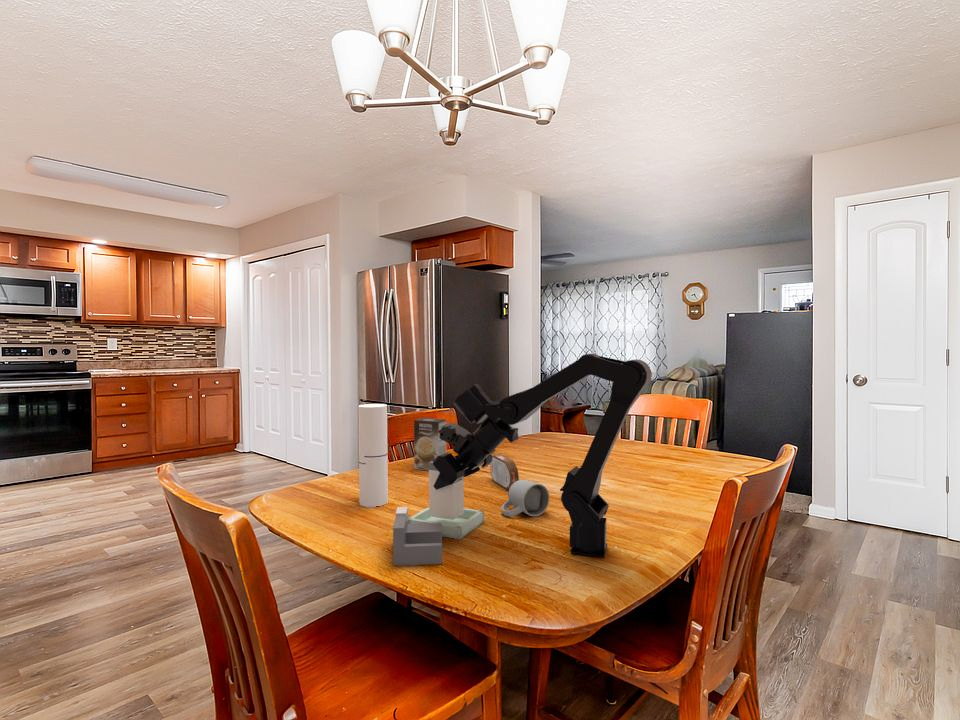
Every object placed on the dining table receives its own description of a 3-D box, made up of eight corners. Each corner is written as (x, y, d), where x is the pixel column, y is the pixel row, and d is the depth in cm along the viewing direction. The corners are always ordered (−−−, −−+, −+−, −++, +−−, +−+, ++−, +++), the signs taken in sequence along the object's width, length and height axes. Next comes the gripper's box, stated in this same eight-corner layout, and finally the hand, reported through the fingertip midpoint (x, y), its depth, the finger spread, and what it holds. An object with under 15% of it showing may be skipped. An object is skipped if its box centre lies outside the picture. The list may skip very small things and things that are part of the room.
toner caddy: (463, 513, 120) (463, 460, 119) (453, 520, 115) (452, 465, 115) (440, 509, 122) (439, 457, 122) (429, 516, 118) (428, 462, 117)
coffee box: (412, 469, 171) (412, 419, 171) (422, 465, 177) (422, 417, 176) (438, 472, 168) (438, 421, 167) (447, 467, 174) (447, 418, 173)
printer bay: (441, 539, 111) (441, 504, 111) (442, 564, 99) (442, 524, 98) (398, 540, 110) (397, 505, 110) (393, 565, 98) (392, 526, 98)
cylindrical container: (381, 508, 132) (380, 407, 131) (354, 506, 133) (353, 406, 132) (392, 499, 139) (391, 404, 138) (366, 498, 140) (365, 403, 139)
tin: (519, 492, 146) (519, 461, 145) (509, 493, 145) (509, 462, 144) (497, 478, 160) (497, 450, 159) (488, 479, 159) (488, 451, 158)
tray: (484, 521, 122) (484, 511, 122) (459, 539, 111) (459, 527, 111) (434, 514, 127) (434, 503, 127) (406, 530, 116) (406, 519, 116)
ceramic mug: (530, 504, 134) (529, 474, 134) (550, 513, 127) (549, 481, 127) (494, 512, 129) (494, 481, 129) (513, 522, 122) (512, 489, 122)
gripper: (479, 406, 125) (439, 449, 130) (440, 417, 108) (395, 466, 113) (511, 442, 122) (468, 485, 127) (475, 459, 105) (428, 507, 110)
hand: (441, 484), depth 119 cm, fingers closed on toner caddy, 5 cm apart
